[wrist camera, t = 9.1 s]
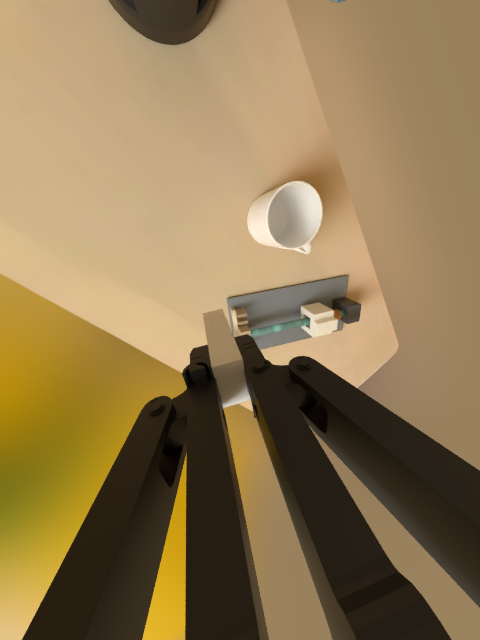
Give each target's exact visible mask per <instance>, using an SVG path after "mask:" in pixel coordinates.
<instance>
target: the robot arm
mask: <svg viewBox="0 0 480 640" xmlns="http://www.w3.org/2000/svg"><path fill="white" fill-rule="evenodd" d="M109 1H110V3H111V4H112V6H113V7H114V8H115V10H116V11H117V12H118V13H119V14H120V16H121V17H122V18H123V19H124V20H125V21H126V22H127V23H128V24H129V25H130V26H131V27H133V28H134V29H135V30H136V31H138V32H139V33H140V34H142V35H143V36H145V37H147V38H149V39H151V40H153V41H156V42H159V43H162V44H169V45H175V44H181V43H185V42H187V41H189V40H191V39H193V38H194V37H196V36H197V35H198V34H199V33H200V32H201V31H202V30H203V29H204V27H205V26H206V24H207V23H208V21H209V19H210V17H211V15H212V13H213V10H214V7H215V4H216V0H109ZM331 1H332V2H337V3H340V2H343V1H345V0H331ZM203 318H204V324H205V330H206V336H207V342H208V345H205V346H201V347H197V348H193V350H192V351H191V353H190V364H189V365H188V366H186V368H185V369H184V370H183V373H182V375H183V377H184V380H185V383H186V385H187V389H186V390H185V391H184V392H183V393H182V394H180V395H179V396H177V397H175V398H173V399H172V400H171V398H169V397H167V396H160V397H156V398H154V399H153V400H151V401H149V402H148V403H147V404H146V405H145V406H144V408H143V409H142V410H141V412H140V414H139V416H138V418H137V420H136V422H135V424H134V426H133V428H132V430H131V432H130V433H129V435H128V437H127V439H126V441H125V443H124V445H123V447H122V449H121V451H120V453H119V455H118V457H117V458H116V460H115V462H114V464H113V466H112V468H111V470H110V472H109V474H108V476H107V478H106V480H105V481H104V483H103V485H102V487H101V489H100V491H99V493H98V495H97V497H96V499H95V501H94V503H93V504H92V506H91V508H90V510H89V512H88V514H87V516H86V518H85V520H84V522H83V524H82V526H81V528H80V530H79V531H78V533H77V535H76V537H75V539H74V541H73V543H72V545H71V547H70V549H69V551H68V552H67V554H66V556H65V558H64V560H63V562H62V564H61V566H60V568H59V570H58V572H57V574H56V576H55V577H54V579H53V582H52V583H51V585H50V587H49V589H48V591H47V593H46V595H45V597H44V599H43V601H42V602H41V604H40V606H39V608H38V610H37V612H36V614H35V616H34V618H33V620H32V622H31V624H30V625H29V627H28V630H27V631H26V633H25V635H24V637H23V639H22V640H142V638H143V633H144V628H145V625H146V621H147V616H148V612H149V607H150V604H151V599H152V595H153V591H154V587H155V582H156V578H157V574H158V570H159V566H160V561H161V557H162V553H163V549H164V545H165V540H166V536H167V532H168V527H169V523H170V519H171V515H172V511H173V506H174V502H175V498H176V494H177V490H178V485H179V481H180V477H181V472H182V469H183V464H184V460H185V456H186V452H187V482H186V489H187V490H186V494H187V495H186V626H185V627H186V630H185V633H186V634H185V637H186V638H185V640H269V638H268V633H267V627H266V623H265V617H264V612H263V607H262V603H261V597H260V592H259V587H258V581H257V576H256V571H255V566H254V561H253V556H252V551H251V546H250V541H249V536H248V530H247V525H246V520H245V515H244V510H243V505H242V500H241V494H240V489H239V484H238V479H237V474H236V469H235V464H234V459H233V454H232V448H231V444H230V438H229V433H228V428H227V423H226V418H225V414H224V410H223V408H225V407H228V406H231V405H234V404H238V403H241V402H244V401H248V400H250V398H251V401H252V407H253V412H254V417H255V418H256V419H257V421H258V425H259V427H260V430H261V433H262V436H263V438H264V442H265V444H266V447H267V450H268V453H269V456H270V459H271V462H272V464H273V467H274V470H275V473H276V476H277V479H278V482H279V485H280V487H281V490H282V493H283V496H284V499H285V502H286V505H287V507H288V510H289V513H290V516H291V519H292V522H293V525H294V528H295V530H296V533H297V536H298V539H299V542H300V545H301V548H302V551H303V553H304V556H305V559H306V562H307V565H308V568H309V571H310V574H311V576H312V579H313V582H314V585H315V587H316V591H317V593H318V596H319V599H320V602H321V605H322V608H323V611H324V613H325V617H326V620H327V623H328V626H329V629H330V633H331V636H332V640H451V638H450V637H449V635H448V634H447V632H446V630H445V629H444V627H443V626H442V624H441V622H440V621H439V620H438V618H437V616H436V615H435V613H434V612H433V611H432V609H431V608H430V606H429V605H428V603H427V602H426V600H425V599H424V598H423V596H422V595H421V594H420V593H419V591H418V590H417V589H416V588H415V586H414V585H413V584H412V583H411V582H410V581H409V580H407V579H406V578H405V577H404V576H403V575H402V574H401V573H399V572H398V571H397V569H396V568H395V567H394V566H393V564H392V563H391V561H390V560H389V558H388V557H387V555H386V554H385V552H384V550H383V549H382V547H381V545H380V544H379V542H378V540H377V539H376V537H375V535H374V534H373V532H372V530H371V529H370V527H369V525H368V524H367V522H366V520H365V519H364V517H363V515H362V514H361V512H360V510H359V509H358V507H357V505H356V504H355V502H354V500H353V499H352V497H351V495H350V494H349V492H348V490H347V489H346V487H345V485H344V484H343V482H342V480H341V479H340V477H339V475H338V474H337V472H336V470H335V469H334V467H333V465H332V464H331V462H330V460H329V459H328V457H327V455H326V454H325V452H324V450H323V449H322V447H321V445H320V444H319V442H318V440H317V439H316V437H315V435H314V434H313V432H312V430H313V431H314V432H315V433H316V434H317V435H318V436H319V437H320V438H321V439H322V440H323V441H324V442H325V443H326V444H327V445H328V446H329V448H330V449H331V450H332V451H333V452H334V453H335V454H336V455H337V456H338V457H339V458H340V459H341V460H342V461H343V463H345V465H346V466H347V467H348V468H349V469H350V470H351V471H352V472H353V473H354V474H355V475H356V476H357V477H358V479H359V480H360V481H361V482H362V483H363V484H364V485H365V486H366V487H367V488H368V489H369V490H370V491H371V492H372V493H373V494H374V495H375V497H376V498H377V499H378V500H379V501H380V502H381V503H382V504H383V505H384V506H385V507H386V508H387V509H388V510H389V512H390V513H391V514H392V515H393V516H394V517H395V518H396V519H397V520H398V521H399V522H400V523H401V524H402V525H403V526H404V528H405V529H406V530H407V531H408V532H409V533H410V534H411V535H412V536H413V537H414V538H415V539H416V540H417V541H418V542H419V543H420V545H421V546H422V547H423V548H424V549H425V550H426V551H427V552H428V553H429V554H430V555H431V556H432V557H433V558H434V559H435V561H436V562H437V563H438V564H439V565H440V566H441V567H442V568H443V569H444V570H445V571H446V572H447V573H448V574H449V575H450V576H451V577H452V579H453V580H454V581H455V582H456V583H457V584H458V585H459V586H460V587H461V588H462V589H463V590H464V591H465V592H466V594H467V595H468V596H469V597H470V598H471V599H472V600H473V601H474V602H475V603H476V604H477V605H478V606H479V607H480V471H479V470H478V469H476V468H475V467H473V466H472V465H470V464H469V463H467V462H465V461H464V460H463V459H461V458H460V457H458V456H457V455H455V454H453V453H452V452H451V451H449V450H448V449H446V448H445V447H444V446H442V445H441V444H439V443H438V442H436V441H434V440H433V439H432V438H430V437H429V436H427V435H426V434H424V433H423V432H421V431H420V430H418V429H417V428H415V427H414V426H412V425H411V424H409V423H408V422H406V421H405V420H403V419H402V418H400V417H399V416H397V415H396V414H394V413H393V412H391V411H390V410H388V409H387V408H385V407H384V406H382V405H381V404H380V403H378V402H377V401H375V400H374V399H372V398H371V397H369V396H367V395H366V394H365V393H363V392H362V391H360V390H359V389H357V388H356V387H354V386H353V385H351V384H350V383H348V382H347V381H345V380H344V379H342V378H341V377H339V376H338V375H336V374H335V373H333V372H332V371H330V370H329V369H327V368H326V367H324V366H323V365H321V364H320V363H318V362H317V361H316V360H314V359H312V358H310V357H306V356H298V357H295V358H293V359H292V360H290V362H289V365H283V366H279V365H273V364H271V362H270V361H268V360H266V359H265V358H264V356H263V355H262V353H261V351H260V349H259V348H258V346H257V344H256V343H255V341H254V339H253V337H251V336H250V335H248V334H245V335H241V336H237V337H233V334H232V332H231V329H230V327H229V324H228V322H227V319H226V317H225V314H224V312H223V310H222V309H220V310H216V311H212V312H207V313H203ZM309 426H310V427H311V428H312V430H311V429H310V427H309Z"/></svg>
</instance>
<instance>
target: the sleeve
mask: <svg viewBox="0 0 480 640" xmlns="http://www.w3.org/2000/svg"><path fill="white" fill-rule="evenodd" d="M333 315H334V310H332V309H330V308H328V307H327V306H325V305H323V304H321V303H319V302H318V303H313V304H309V305H304V306H301V319H303V318H307V317H309V318H310V325H306V326H301V328H302V329H304V330H305V331H306V332H307V333H308V334H310V335H311V336H312V337H317V336H322V335H326V334H330V333H332V331H335V330H337V323H338V319H336V318H335V317H333Z"/></svg>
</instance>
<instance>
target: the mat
mask: <svg viewBox="0 0 480 640" xmlns="http://www.w3.org/2000/svg"><path fill="white" fill-rule="evenodd" d="M347 281H348V276H347V275H345V276H339V277H334V278H329V279H324V280H319V281H313V282H308V283H303V284H298V285H293V286H288V287H282V288H277V289H272V290H267V291H262V292H256V293H251V294H246V295H241V296H236V297H230V298H227V302H228V308H229V315H230V321H231V328H232V334H233V337H235V334H234V328H233V321H232V315H231V308H232V307H234V308H235V309H238V308H244V310H245V311H246V312H247V316H245V317H246V318H247V320H248V323H247V326H248V327H249V329H250V330H253V329H258V328H262V327H267V326H271V325H276V324H280V323H285V322H289V321H294V320H298V319H301V306H304V305H309V304H313V303H318V302H319V303H321V304H323V305H325V306H327V307H328V308H330V309H332V301H333V299H337V298H342V297H345V298H346V290H347ZM342 328H343V321H341V320H338V323H337V330H335V331H332V332H336V331H340V330H342ZM311 337H312V336H311V335H310V334H308V333H307V332H306V331H305V330H304V329H302V328H301V327H297V328H293V329H288V330H284V331H280V332H275V333H271V334H266V335H262V336H258V337H253V339H254V341H255V343H256V344H257V346H258V348H259V349H260V350H261V349H265V348H269V347H273V346H277V345H282V344H286V343H290V342H294V341H298V340H302V339H307V338H311Z"/></svg>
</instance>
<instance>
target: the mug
mask: <svg viewBox="0 0 480 640" xmlns="http://www.w3.org/2000/svg"><path fill="white" fill-rule="evenodd" d="M322 216H323V207H322V201H321V198H320V196H319V194H318V192H317V191H316V190H315V188H314V187H313V186H311V185H310V184H308V183H306V182H303V181H291V182H288V183H286V184H284V185H282V186H280V187H278V188H276V189H274V190H271V191H269V192H267V193H265V194H263V195H262V196H260V197H259V198H257V199H256V200H255V201H254V203H253V204H252V206H251V208H250V210H249V213H248V219H247V224H248V229H249V232H250V234H251V235H252V237H253V238H254V239H255V240H256V241H257V242H259V243H260V244H263V245H267V246H272V247H278V248H284V249H291V250H292V249H294V250H296V251H298V252H301V253H304V254H309V253H310V252H311V251H312V242H311V240H312V239H313V238H314V237H315V235H316V234H317V232H318V230H319V228H320V225H321V222H322ZM301 247H303V248H304V250H305V251H303V250H302V249H300V248H301Z"/></svg>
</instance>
